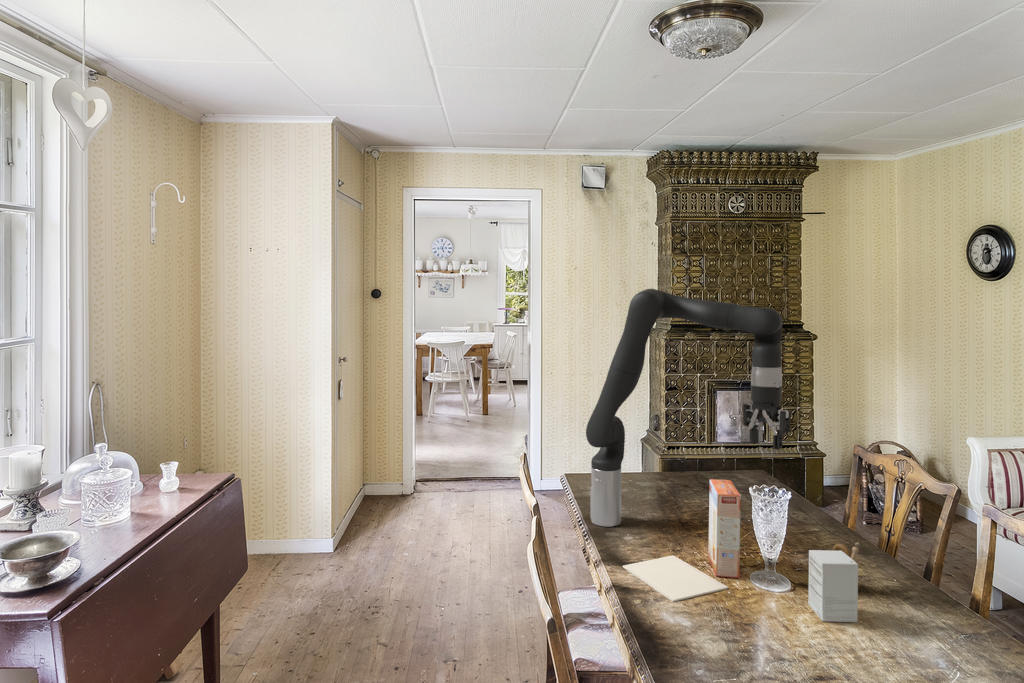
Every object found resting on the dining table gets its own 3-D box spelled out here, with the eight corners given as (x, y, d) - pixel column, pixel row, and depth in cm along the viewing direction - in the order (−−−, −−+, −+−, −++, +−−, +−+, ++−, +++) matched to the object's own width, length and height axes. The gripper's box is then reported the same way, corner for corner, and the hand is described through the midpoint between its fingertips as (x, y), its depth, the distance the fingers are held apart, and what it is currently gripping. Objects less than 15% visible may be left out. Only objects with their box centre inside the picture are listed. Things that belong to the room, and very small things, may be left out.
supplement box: (841, 606, 130) (843, 549, 129) (858, 623, 122) (859, 564, 122) (807, 604, 130) (807, 548, 130) (821, 621, 123) (822, 562, 122)
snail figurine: (850, 596, 134) (851, 545, 133) (824, 585, 139) (824, 536, 139) (864, 591, 136) (865, 540, 136) (838, 580, 142) (839, 532, 141)
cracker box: (740, 579, 143) (741, 494, 142) (715, 577, 144) (715, 493, 143) (731, 556, 157) (732, 479, 156) (707, 554, 158) (708, 478, 157)
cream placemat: (622, 567, 150) (622, 565, 150) (673, 556, 156) (673, 555, 156) (672, 601, 132) (672, 600, 132) (727, 588, 138) (727, 586, 138)
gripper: (735, 381, 159) (734, 442, 160) (777, 387, 146) (776, 453, 146) (755, 380, 162) (755, 439, 163) (799, 386, 149) (798, 450, 149)
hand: (765, 446), depth 155 cm, fingers open, 7 cm apart
